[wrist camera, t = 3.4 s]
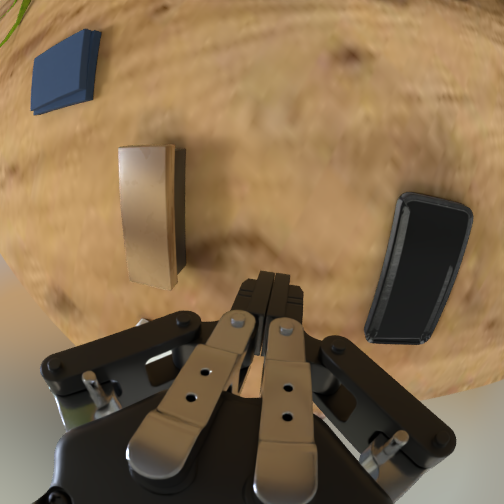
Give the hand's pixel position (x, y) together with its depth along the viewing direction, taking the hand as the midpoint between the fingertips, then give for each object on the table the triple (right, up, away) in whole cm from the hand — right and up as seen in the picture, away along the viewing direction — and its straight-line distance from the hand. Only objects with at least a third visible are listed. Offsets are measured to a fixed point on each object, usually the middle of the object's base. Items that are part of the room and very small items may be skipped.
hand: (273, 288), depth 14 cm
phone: (+14, 0, +8) cm, 17 cm away
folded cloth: (-22, +21, +6) cm, 31 cm away
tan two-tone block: (-9, +6, +10) cm, 15 cm away
